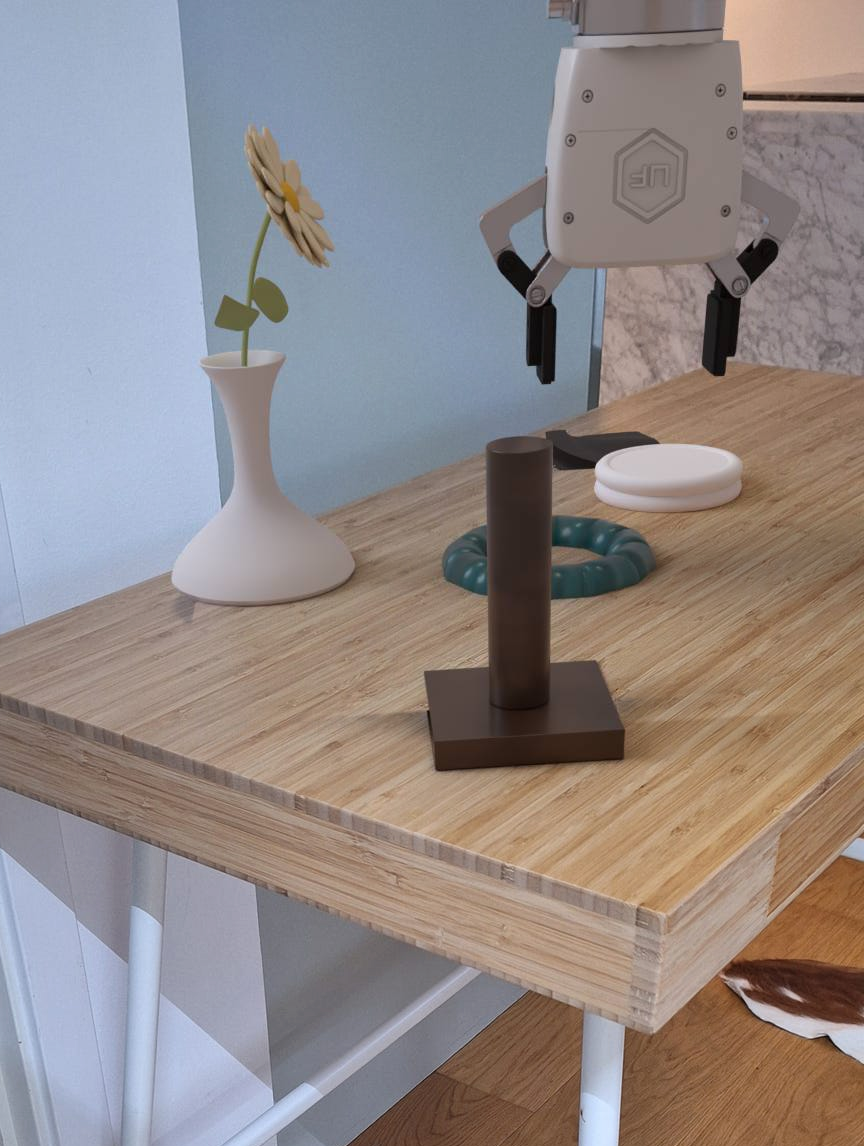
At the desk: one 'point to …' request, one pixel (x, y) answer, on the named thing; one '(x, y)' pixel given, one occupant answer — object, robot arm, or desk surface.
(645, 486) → the white grooved disc
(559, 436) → the curved wedge
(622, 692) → the desk surface
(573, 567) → the ring
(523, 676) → the post
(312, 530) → the flower in vase
